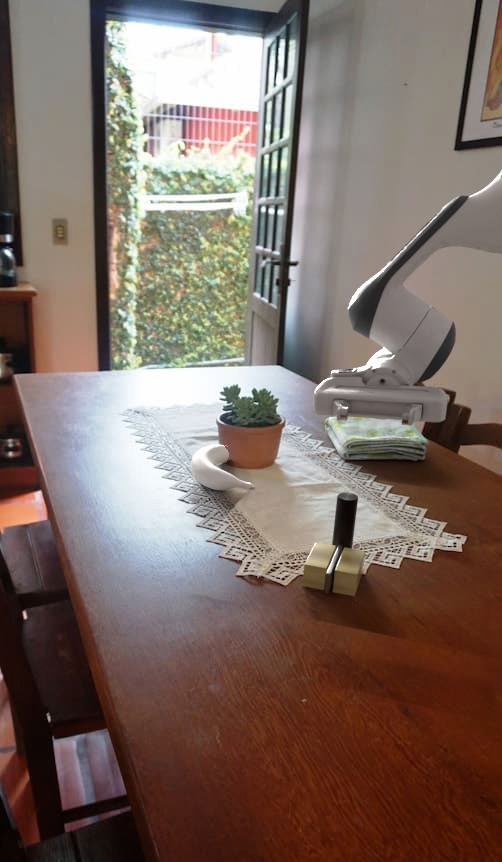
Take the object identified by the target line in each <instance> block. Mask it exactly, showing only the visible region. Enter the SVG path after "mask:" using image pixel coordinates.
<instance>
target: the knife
mask: <svg viewBox="0 0 502 862" xmlns="http://www.w3.org/2000/svg"><path fill="white" fill-rule="evenodd" d="M336 495H337V496H336V504H335V514H334V523H333V532H332V533H333V534H332V542H331V545H335V546H336V553H335V555H334V557H333V560H332V562H331V564H330V567H329V569H328V571H327V574H326V584H325V589H324V594H325V595H329V593H330V591H331V588H332V587H333V582H334V573H335V569H336V566H337V564H338V562H339V559H340V557H341V554H342V552H343V549H344V547H346V548H351V549H353V543H354V535H355V528H356V519H357V510H358V503H359V502H358V501H359V496H358V495H357V494H356V493H353V492H347V491H346V492H345V491H344V492H343V491H342V492H339V493H337V494H336Z"/></svg>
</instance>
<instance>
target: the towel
mask: <svg viewBox="0 0 502 862" xmlns="http://www.w3.org/2000/svg"><path fill="white" fill-rule="evenodd" d="M324 430H325V432H326V433H327V434H328V437H329V439H330V441H331V442H332V444H333V446H334V448H335V449H336V451H337V453H338V455H339V456H340V457H341V458H342V459H344V460H347V461H362V460H410V461H414V462H417V461H423V460H425V459H426V452H427V447H426V446H429V445H430V443H429V440H428V439H427V438H426V437H424V435H423V433H421V432H420V430H419V429H418V428H417V426H416V425H415V424H414V422H412V425H402V420H392V419H385V420H381V419H375V418H360V417H348V419H347V421H337V417H336V416H330V417H327V418H325V420H324Z"/></svg>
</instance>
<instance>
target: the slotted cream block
mask: <svg viewBox="0 0 502 862" xmlns="http://www.w3.org/2000/svg"><path fill="white" fill-rule="evenodd" d="M335 553H336V546H335V545H332V544H328V543H323V542H316V541H315V542H314V544H313V546H312V549H311V551H310V553H309V555H308V557H307V559H306V561H305V562H304V564H303V574H302V575H303V576H302V587H306V588H311V589H317V590H320V591H325V584H326V574H327V571H328V569H329V567H330V564H331V562H332V560H333V557H334V555H335ZM365 558H366V550H362V549H357V548H352V549H351V548H346V547H344V549H343V552H342V554H341V557H340V559H339V562H338V564H337V566H336V569H335V573H334V581H333V584H332V590H331V591H332V593H336V594H341V595H345V596H350V597H355V596H356V593H357V590H358V587H359V584H360V581H361V578H362V577H363V572H364V565H365Z"/></svg>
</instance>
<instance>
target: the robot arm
mask: <svg viewBox="0 0 502 862" xmlns="http://www.w3.org/2000/svg"><path fill="white" fill-rule="evenodd" d="M450 247H460V248H467V249H472V250H473V249H474V250H478V251H482V252H485V253H491V254H499V255H502V170H501V171H500V172H499V173H498V174H497V176H496V177H495V178H494V179H493V181H491V182H490V183H489V184H488V185H487V186H485V187H484V188H483V189H481V190H480V191H478V192H476V193H474V194H472V195H462V194H461V195H457V196H456V197H454V198H453V199H452V200H450V201H449V202H447V204H445V205H444V206H443V207H442V208H441V209H440V210H438V212H437V213H436V214H435V215H434V216H433V217H431V219H430V220H429V221H427V222H426V223H425V225H423V226H422V227H421V228H420V229H419V231H417V232H416V234H415V235H414V236H412V238H411V239H410V240H409V241H408V242H407V243H405V245H404V246H403V247H401V248H400V250H399V251H398V252H397V253H396V254H395V255H394V256H393V257H392V258H391V259H390V261H388V263H387V264H386V265H385V266H384V267H382V268H381V270H380V271H379V272H377V273H376V274H375V275H374V276H372V277H370V278H369V279H368V280H367V281H365V283H363V284H362V285H361V286H360V287H359V288H358V289H357V290H356V292H355V293H354V295H353V296H352V298H351V300H350V302H349V305H348V307H347V314H348V320H349V323H350V327H351V329H352V330H353V331H354V332H356V333H358V334H360V335H361V336H364V337H365V338H367V339H370V340H372V341H374V343H376V344H378V345H379V346H380V347H382V349H380V350H379V351H377V352H376V353H375V354H373V356H371V358H370V359H369V360H368V362H367V363H366V365H363V366H359V367H353V368H352V367H351V368H342V369H334V370H332V371H331V372H330V376H329V377H328V378H326V379H324V380H323V381H322V382H321V383H319V384H318V386H317V387H316V388H315V390H314V391H313V397H312V411H313V414H316V415H317V416H330V417H337V421H347V419H348V417H360V418H375V419H381V420H385V419H392V420H402V425H412V423H416V422H423V423H424V422H427V423H441V422H444V421H445V420H446V418H447V410H448V404H449V403H450V402H451V401H450V399H451V397H450V394H447V393H446V392H445V390H443V388H441V387H437V386H427V385H426V386H424V385H415V384H421V383H423V382H426V381H428V380H430V379H432V378H433V377H434V376H435V375H436V374H437V373H438V372H439V371H440V370H441V368H442V367H443V366H444V364H445V363H446V362H447V360H448V358H449V356H450V355H451V353H452V352H453V349H454V347H455V344H456V341H457V340H456V339H457V337H456V336H457V332H456V331H457V329H456V324H455V322H454V320H452V319H450V318H449V317H448V316H447V315H445V314H444V313H443V312H441V311H439V310H438V309H437V308H435V307H434V306H432V305H429V304H428V303H426V302H425V301H424V300H422V299H421V298H420V297H418V296H417V295H415V294H414V293H412V292H411V291H409V290H408V289H407V288H406V287H405V285H404V282H406V281H407V279H409V277H411V276H412V275H413V274H414V273H415V272H416V271H417V270H418V269H419V268H420V267H421V266H422V265H423V264H424V263H425V262H427V260H428V259H429V258H430V257H431V256H432V255H433V254H434V253H436V252H437V251H439V250H441V249H445V248H450Z"/></svg>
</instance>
